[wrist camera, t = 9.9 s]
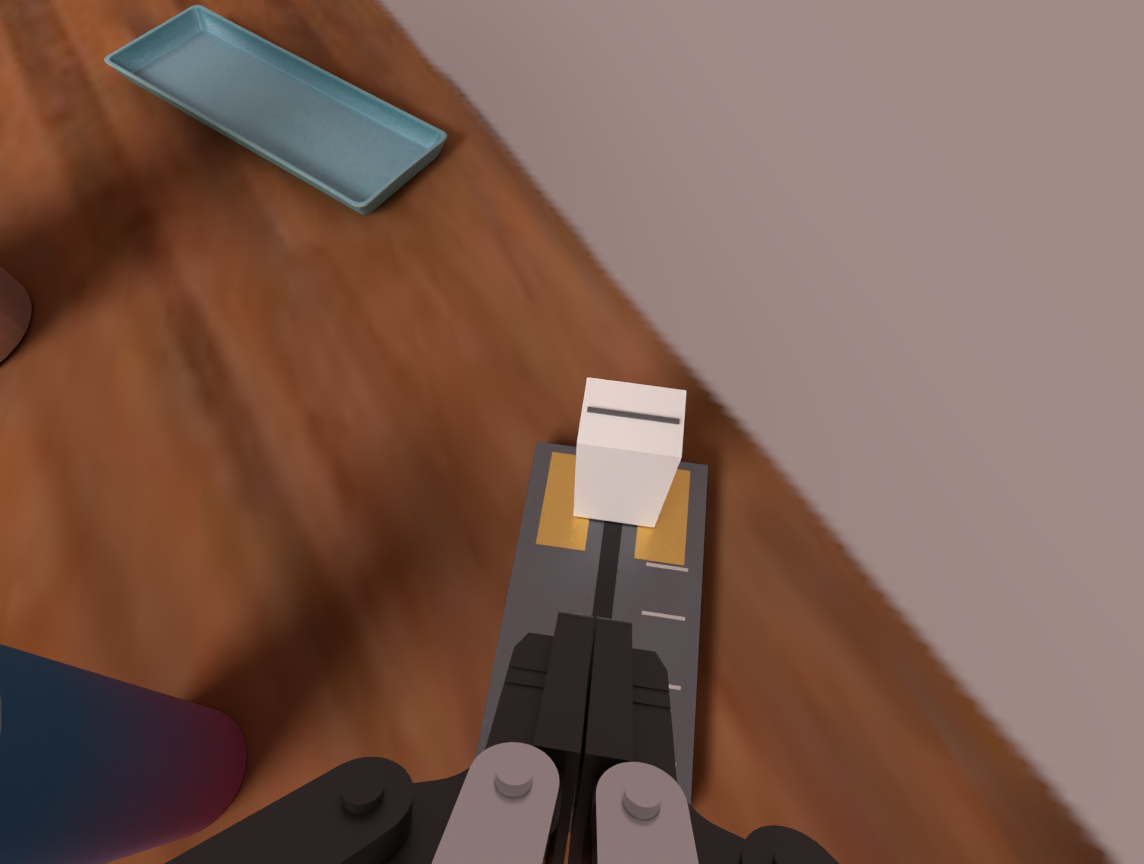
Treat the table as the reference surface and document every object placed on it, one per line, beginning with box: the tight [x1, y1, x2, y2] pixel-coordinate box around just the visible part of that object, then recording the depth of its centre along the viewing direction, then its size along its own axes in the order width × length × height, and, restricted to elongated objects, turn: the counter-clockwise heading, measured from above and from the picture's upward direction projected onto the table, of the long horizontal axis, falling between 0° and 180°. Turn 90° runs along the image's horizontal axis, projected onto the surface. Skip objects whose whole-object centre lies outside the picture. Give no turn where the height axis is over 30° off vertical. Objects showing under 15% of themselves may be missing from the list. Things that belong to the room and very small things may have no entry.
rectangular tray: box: [104, 5, 447, 215], centre depth 47 cm, size 26×9×2 cm, turn 56°
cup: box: [0, 644, 246, 864], centre depth 21 cm, size 7×7×15 cm
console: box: [475, 442, 708, 832], centre depth 29 cm, size 18×9×3 cm, turn 172°
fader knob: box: [573, 377, 686, 527], centre depth 28 cm, size 3×4×8 cm
